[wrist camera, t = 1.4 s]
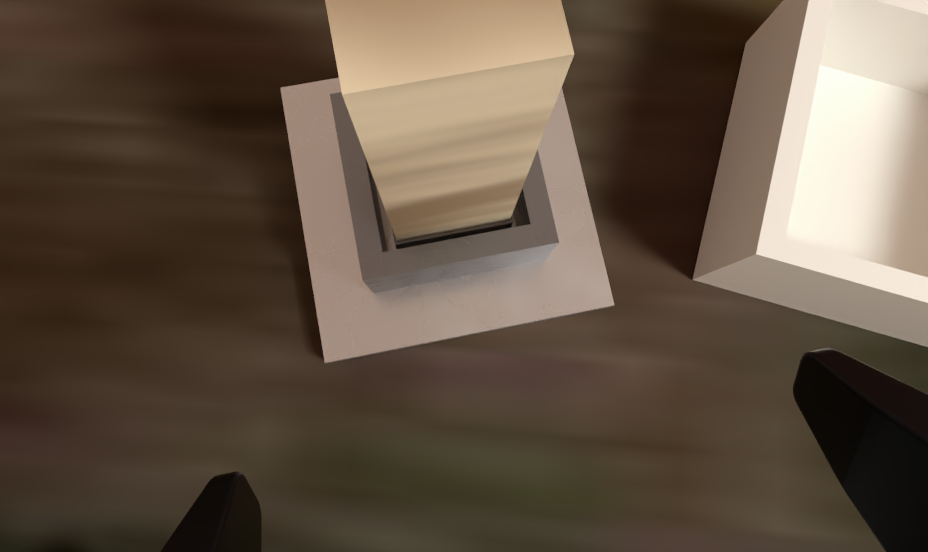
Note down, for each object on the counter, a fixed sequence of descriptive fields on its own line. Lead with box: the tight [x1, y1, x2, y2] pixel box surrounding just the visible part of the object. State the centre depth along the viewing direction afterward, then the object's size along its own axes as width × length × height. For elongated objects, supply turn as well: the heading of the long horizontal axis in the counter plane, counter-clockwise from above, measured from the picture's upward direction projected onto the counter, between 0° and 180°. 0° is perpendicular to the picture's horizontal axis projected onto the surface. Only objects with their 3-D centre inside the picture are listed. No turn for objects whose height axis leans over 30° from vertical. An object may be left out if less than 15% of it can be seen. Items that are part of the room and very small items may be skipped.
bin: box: [692, 0, 928, 347], centre depth 22 cm, size 11×11×5 cm
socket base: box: [280, 78, 614, 363], centre depth 22 cm, size 11×11×4 cm
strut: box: [325, 0, 574, 249], centre depth 17 cm, size 4×4×13 cm
